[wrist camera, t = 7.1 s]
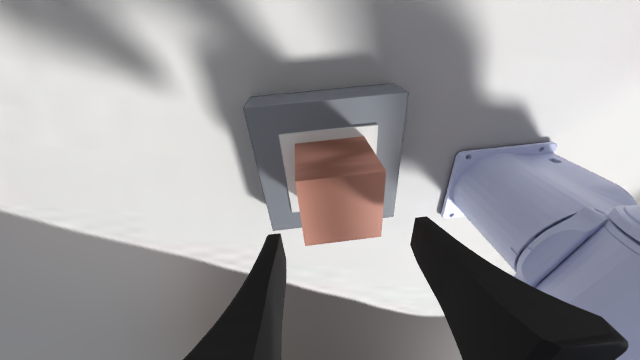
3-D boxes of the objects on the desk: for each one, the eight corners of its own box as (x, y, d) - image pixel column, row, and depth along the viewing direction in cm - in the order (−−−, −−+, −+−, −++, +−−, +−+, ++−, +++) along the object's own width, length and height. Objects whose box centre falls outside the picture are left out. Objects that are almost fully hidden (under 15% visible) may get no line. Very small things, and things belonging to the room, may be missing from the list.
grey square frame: (392, 83, 19) (409, 93, 16) (383, 197, 25) (394, 218, 22) (250, 97, 18) (242, 109, 16) (275, 209, 24) (272, 232, 22)
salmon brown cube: (364, 136, 17) (386, 171, 13) (362, 192, 20) (381, 236, 16) (294, 143, 17) (295, 181, 13) (302, 199, 20) (305, 245, 16)
